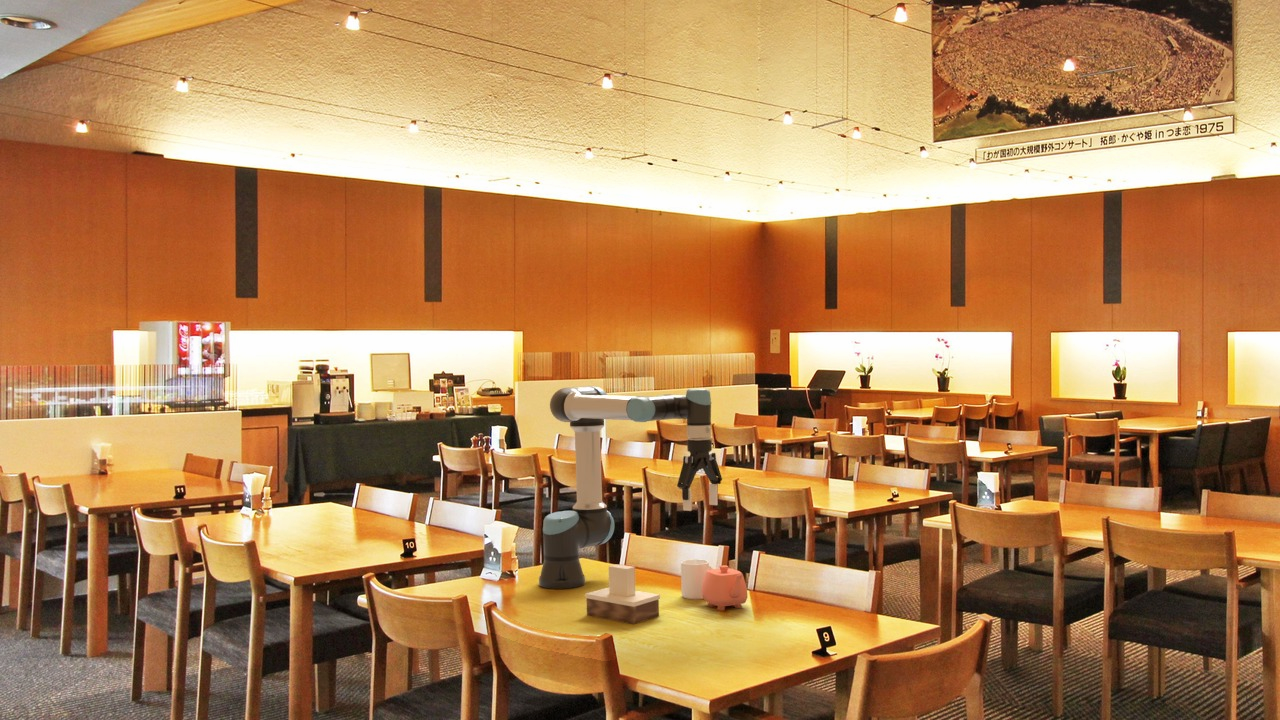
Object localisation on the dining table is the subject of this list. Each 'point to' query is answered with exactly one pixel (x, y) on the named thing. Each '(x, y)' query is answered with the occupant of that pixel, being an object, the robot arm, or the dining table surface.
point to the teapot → (724, 588)
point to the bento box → (623, 611)
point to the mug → (693, 577)
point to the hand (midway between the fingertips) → (700, 507)
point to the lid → (622, 588)
